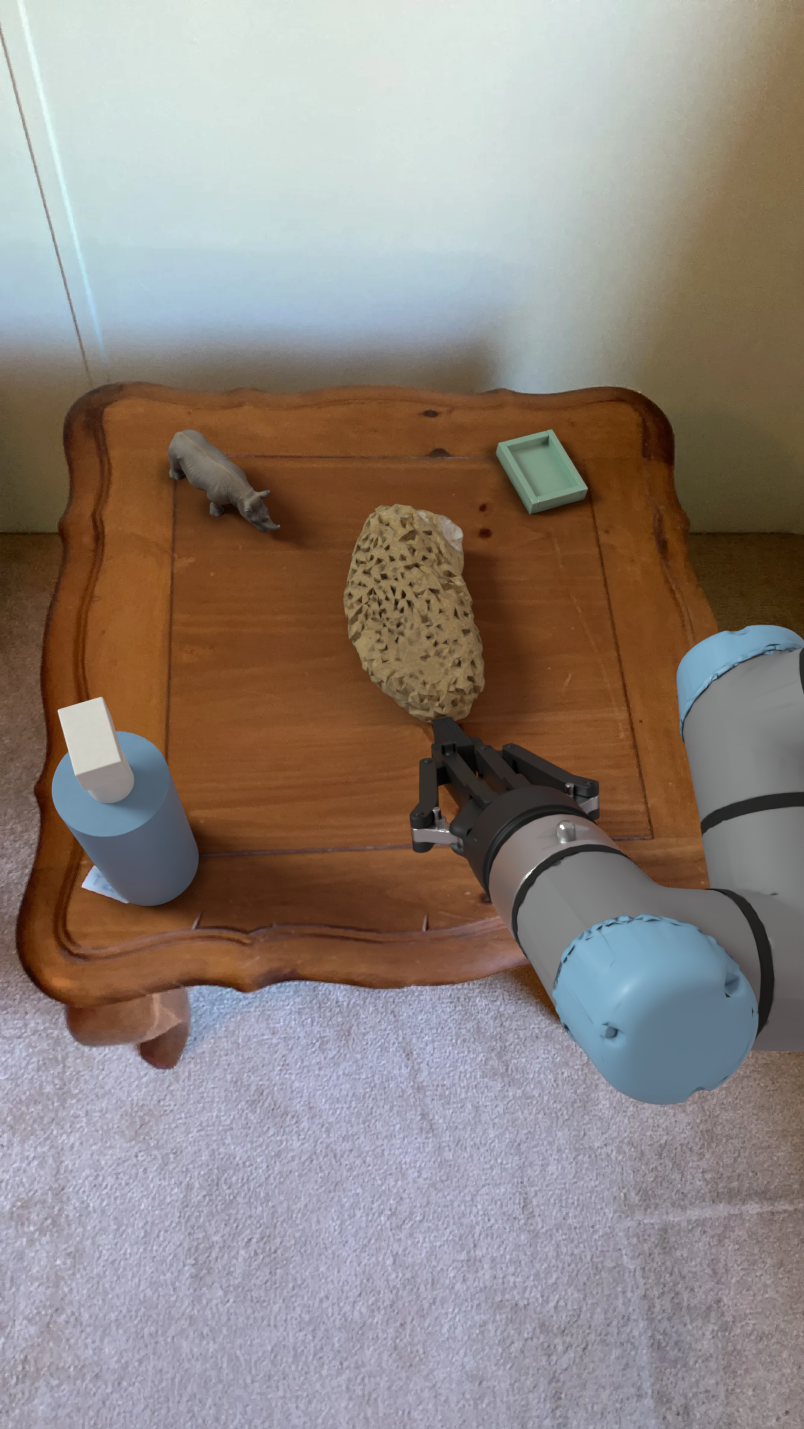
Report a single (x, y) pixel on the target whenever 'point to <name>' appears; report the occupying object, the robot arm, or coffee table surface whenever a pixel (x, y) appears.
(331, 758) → the coffee table surface
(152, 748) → the spray bottle
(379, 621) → the sponge
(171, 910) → the coffee table surface
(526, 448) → the soap dish
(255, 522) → the rhino figurine
